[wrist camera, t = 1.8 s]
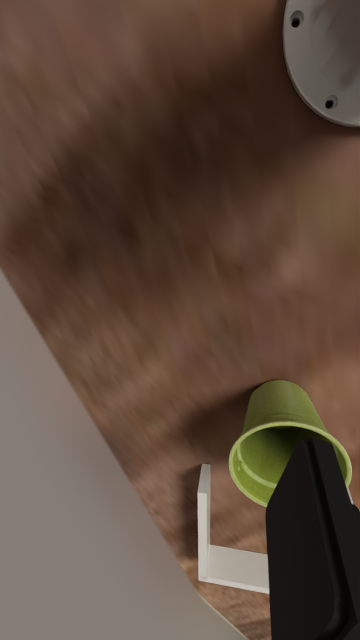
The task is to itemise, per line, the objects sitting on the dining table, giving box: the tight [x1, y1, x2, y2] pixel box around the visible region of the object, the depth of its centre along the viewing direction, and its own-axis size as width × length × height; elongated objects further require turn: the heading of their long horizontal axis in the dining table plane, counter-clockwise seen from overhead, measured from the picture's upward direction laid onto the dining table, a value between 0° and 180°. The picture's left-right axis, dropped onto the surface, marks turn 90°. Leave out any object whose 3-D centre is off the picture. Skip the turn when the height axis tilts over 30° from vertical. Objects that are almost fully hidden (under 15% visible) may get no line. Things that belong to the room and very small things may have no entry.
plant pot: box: [229, 380, 352, 507], centre depth 30 cm, size 9×9×9 cm
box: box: [198, 464, 353, 594], centre depth 38 cm, size 16×16×4 cm
